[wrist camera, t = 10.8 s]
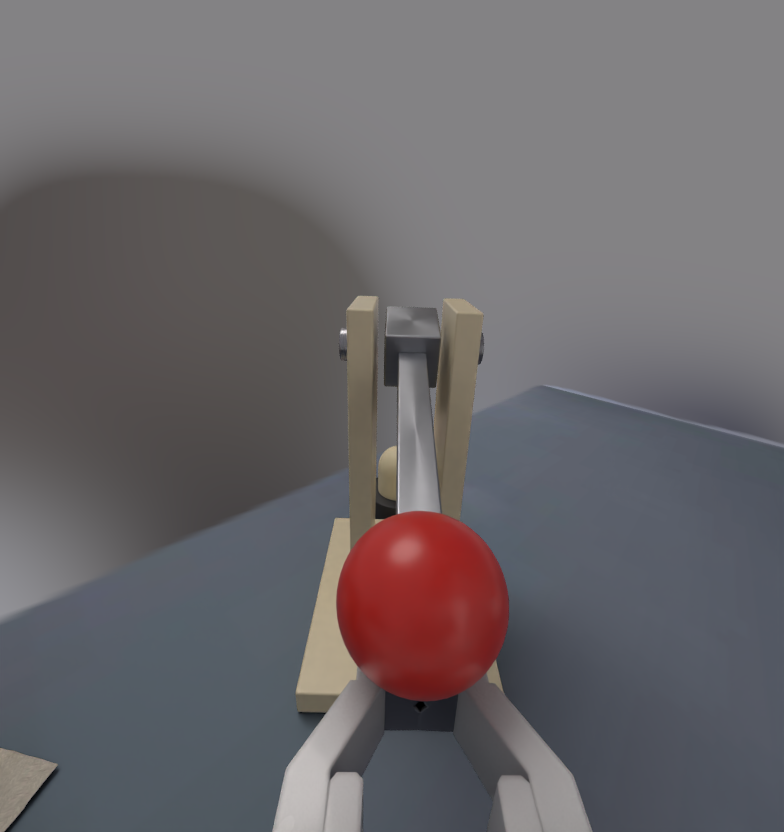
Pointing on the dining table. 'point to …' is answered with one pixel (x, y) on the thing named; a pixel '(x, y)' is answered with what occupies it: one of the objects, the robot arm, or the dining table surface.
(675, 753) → the dining table surface
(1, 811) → the condiment
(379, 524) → the switch lever
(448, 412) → the switch bracket
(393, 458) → the pilot lamp
